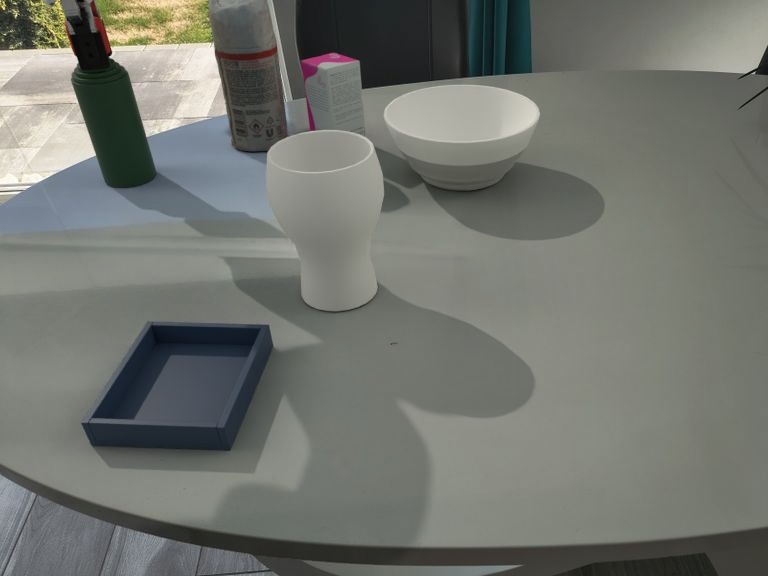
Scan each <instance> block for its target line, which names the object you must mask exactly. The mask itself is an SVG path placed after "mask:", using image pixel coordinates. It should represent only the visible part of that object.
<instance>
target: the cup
mask: <svg viewBox="0 0 768 576" xmlns="http://www.w3.org/2000/svg"><path fill="white" fill-rule="evenodd" d="M265 170H266V171H265V189H266V194H267V199H268V204H269V207H270V209H271V211H272V213H273V215H274V217H275V219H276V221H277V223H278V225H279V226H280V228H281V229H282V231H283V233H284V234H285V235H286V236H287V237H288V238H289V240H290V241H291V242H292V243H293V245H294V247H295V249H296V254H297V255H298V258H299V262H300V264H301V265H300V292H301V298H302V300H303V301H304V303H306V304H307V305H308V306H309V307H312V308H314V309H316V310H321V311H325V312H343V311H349V310H353V309H356V308H359V307H360V306H364V305H365V304H367V303H369V302H370V301H371V300H373V298H374V297H375V296H376V294H377V292H378V289H379V287H378V282H377V278H376V277H377V276H376V273H375V272H376V271H375V269H374V265H373V262H372V259H371V240H372V239H371V238H372V235H373V233H374V230H375V228H376V226H377V224H378V222H379V218H380V216H381V211H382V206H383V202H384V197H385V186H384V174H383V170H382V167H381V164H380V160H379V158H378V154H377V151H376V149H375V146H374V143H373V142H372V141H370V139H369V138H368V137H367V136H366V137H364V136H362V135H359V134H356V133H352V132H347V131H339V130H320V131H310V130H309V131H305V132H300V133H295V134H293V135H289V137H287V138H285V139H282V140H280V141H278V142H277V143H276V144H274V145H273V146H272V147H271V148H270V150H267V153H266V167H265Z"/></svg>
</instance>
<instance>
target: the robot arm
mask: <svg viewBox="0 0 768 576" xmlns="http://www.w3.org/2000/svg"><path fill="white" fill-rule="evenodd" d="M42 1H43V3H44V4H45V5H46V6H48V7H49V8H52V7H54V6H55V4H56V2H57V0H42ZM59 2H60V6H61V9H62V12H63V16H64V19H65V21H66V23H67V26H68V29H69V32H70V34H69V35H70V38H71V41H72V44H73V47H74V50H75V53H76V56H77V57H76V56H75V57H76V60H77V64H78V63H79V66H80V68H81V69H82V70H83V71H87V70H97V69H107V68H109V67H110V61H109V58H108V56H109V57H111V56H113V50H112V46H111V43H110V40H109V36H108V33H107V30H106V26H105V23H104V20H103V19H102V18H101V13H100V10H99V7H98V4H97V1H96V0H59ZM94 17H98V18H101V20H102V23H103V25H104V29H105V32H106V35H107V39H108V42H109V46H110V52H109V53H108V54H107V51H106V48H105V45H104V41H103V38H102V35H101V31H97V28H96V24H95V21H94Z"/></svg>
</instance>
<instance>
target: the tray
mask: <svg viewBox="0 0 768 576" xmlns="http://www.w3.org/2000/svg"><path fill="white" fill-rule="evenodd" d="M271 332H272V331H271V328H270V325H269V324H263V323H262V324H259V323H227V322H226V323H223V322H191V321H190V322H188V321H149V320H148V321H146V323H145V324H144V327H142V329H141V331H140V332H139V333H138V335H137V337H136V338H135V339H134V340H133V343H132V344H131V346H130V348H129V349H128V350H127V352H126V354H125V355H124V356H123V358H122V360H121V361H120V362H119V364H118V366H117V367H116V369H115V370H114V372H113V373H112V374H111V377H110V378H109V379H108V381H107V382H106V384H105V386H103V389H102V390H101V391H100V393H99V395H98V396H97V398H96V399H95V401H94V402H93V404H92V405H91V407H90V408H89V410H88V411H87V413H86V414H85V416H84V417H83V419H82V420H81V422H80V424H81V426H82V428H83V430H84V433H85V436H86V437H87V439H88V442H89V444H90V446H98V447H101V446H102V447H125V448H126V447H129V448H131V447H132V448H152V449H153V448H156V449H157V448H158V449H183V450H184V449H187V450H209V451H211V450H216V451H231V450H232V448H233V445H234V443H235V442H236V441H235V440H236V438H237V436H238V433H239V430H240V428H241V426H242V423H243V421H244V418H245V416H246V414H247V411H248V409H249V407H250V404H251V402H252V399H253V397H254V395H255V392H256V390H257V387H258V384H259V383H260V380H261V378H262V375H263V373H264V370H265V368H266V366H267V363H268V361H269V358H270V357H271V356H270V355H271V354H272V351H273V348H274V342H273V341H274V340H273V337H272V333H271Z"/></svg>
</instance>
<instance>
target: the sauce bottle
mask: <svg viewBox="0 0 768 576" xmlns="http://www.w3.org/2000/svg"><path fill="white" fill-rule="evenodd" d="M108 58H109V61H110V67H109V68H107V69H97V70H87V71H83V70H82V69H81V68H80V66H79V63H78V62H77V64H76V67H74V69H73V72H72V73H71V78H70V82H71V85H72V88H73V90H74V94H75V97H76V100H77V103H78V107H79V109H80V112H81V115H82V119H83V121H84V124H85V127H86V130H87V133H88V135H89V139H90V142H91V145H92V148H93V150H94V153H95V156H96V160H97V162H98V165H99V168H100V171H101V174H102V177H103V181H104V183H105V184H106V185H108V186H109V187H113V188H119V189H121V188H123V189H124V188H125V189H126V188H133V187H138V186H142V185H145V184H146V183H149V182H151V181H152V180H153V179H155V178H156V176H157V174H158V173H157V170H156V165H155V162H154V157H153V154H152V151H151V148H150V144H149V140H148V137H147V134H146V130H145V127H144V122H143V119H142V117H141V112H140V109H139V105H138V102H137V99H136V95H135V91H134V88H133V83H132V81H131V78H130V73H129V71H128V70H126V68H125V66H124V65H121V64H120V63H119V62H118V61H115V59H113V58H112V57H111V56H108Z"/></svg>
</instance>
